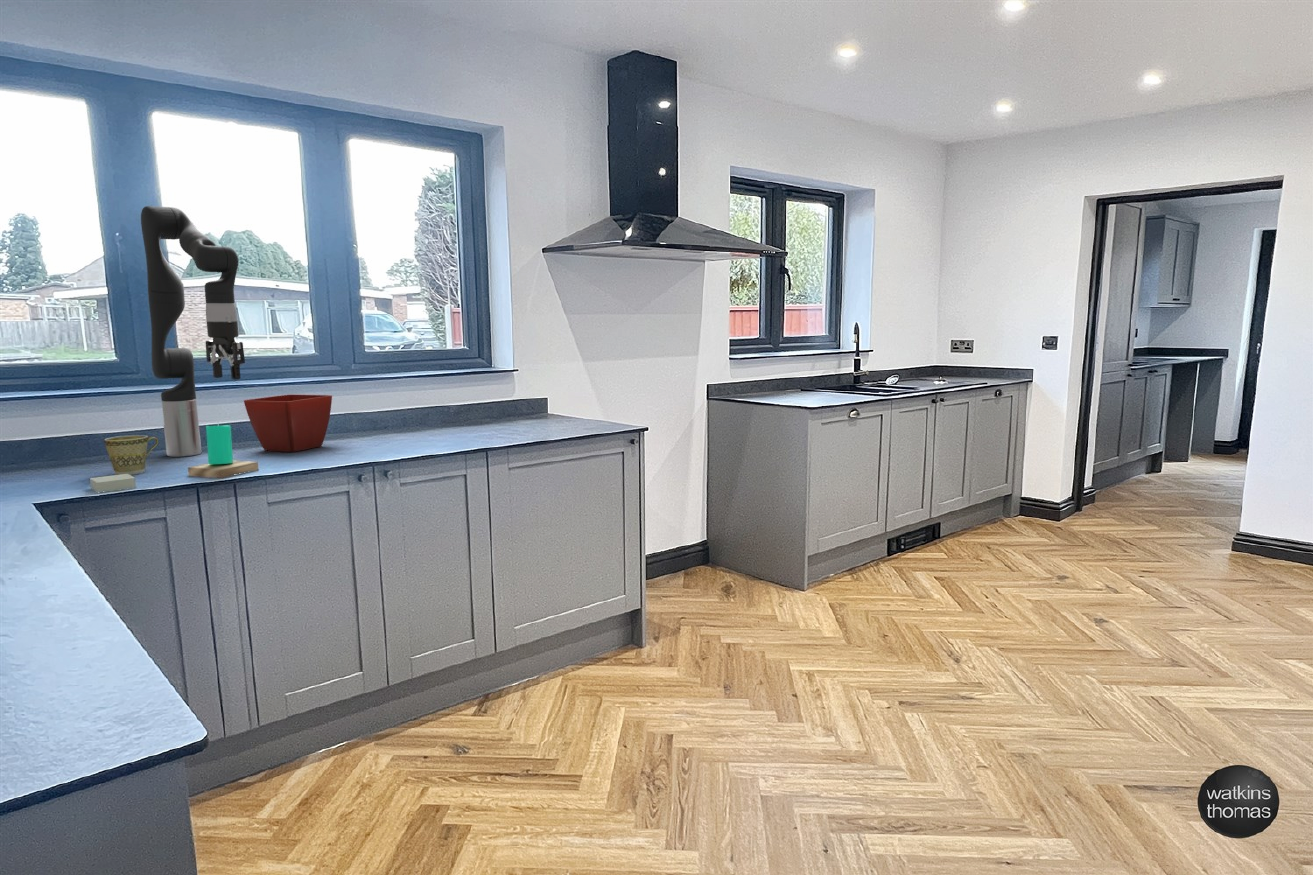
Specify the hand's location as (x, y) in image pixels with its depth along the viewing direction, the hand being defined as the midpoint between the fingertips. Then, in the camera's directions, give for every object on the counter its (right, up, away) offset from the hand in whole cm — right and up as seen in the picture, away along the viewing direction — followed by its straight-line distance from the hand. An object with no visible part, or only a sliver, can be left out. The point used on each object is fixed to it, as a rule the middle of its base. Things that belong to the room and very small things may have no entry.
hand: (227, 378), depth 218 cm
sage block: (-17, -30, -22) cm, 40 cm away
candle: (0, -24, -3) cm, 24 cm away
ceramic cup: (-25, -26, -1) cm, 36 cm away
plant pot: (+2, -20, +36) cm, 42 cm away
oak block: (+1, -27, -3) cm, 27 cm away
